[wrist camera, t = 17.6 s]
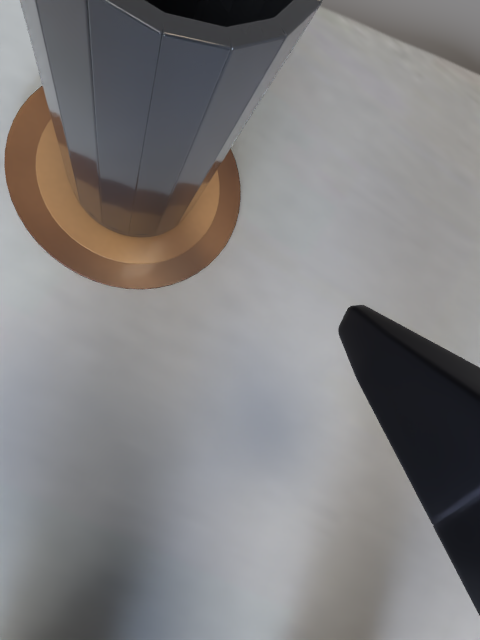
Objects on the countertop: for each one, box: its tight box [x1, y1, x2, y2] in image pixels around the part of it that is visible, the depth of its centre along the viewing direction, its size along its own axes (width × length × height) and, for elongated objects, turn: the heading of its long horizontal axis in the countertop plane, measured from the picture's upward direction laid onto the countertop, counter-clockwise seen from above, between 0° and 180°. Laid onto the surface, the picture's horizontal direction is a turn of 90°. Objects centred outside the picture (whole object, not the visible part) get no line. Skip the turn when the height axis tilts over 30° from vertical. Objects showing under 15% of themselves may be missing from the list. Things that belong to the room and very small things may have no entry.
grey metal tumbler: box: [20, 0, 322, 238], centre depth 12 cm, size 6×6×12 cm
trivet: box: [5, 86, 240, 289], centre depth 17 cm, size 11×11×1 cm
